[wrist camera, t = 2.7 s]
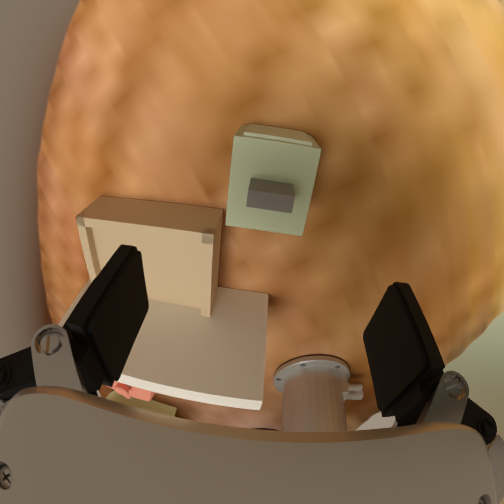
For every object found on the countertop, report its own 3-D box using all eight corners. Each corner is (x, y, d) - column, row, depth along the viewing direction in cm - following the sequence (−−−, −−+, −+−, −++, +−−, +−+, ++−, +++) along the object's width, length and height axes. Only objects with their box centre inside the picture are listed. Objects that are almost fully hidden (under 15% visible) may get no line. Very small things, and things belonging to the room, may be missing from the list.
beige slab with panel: (284, 217, 28) (288, 327, 16) (265, 305, 34) (259, 410, 23) (86, 194, 27) (5, 267, 16) (102, 277, 34) (51, 357, 22)
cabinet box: (311, 132, 23) (328, 154, 16) (296, 205, 27) (304, 253, 20) (243, 121, 23) (229, 138, 16) (235, 195, 27) (220, 241, 20)
